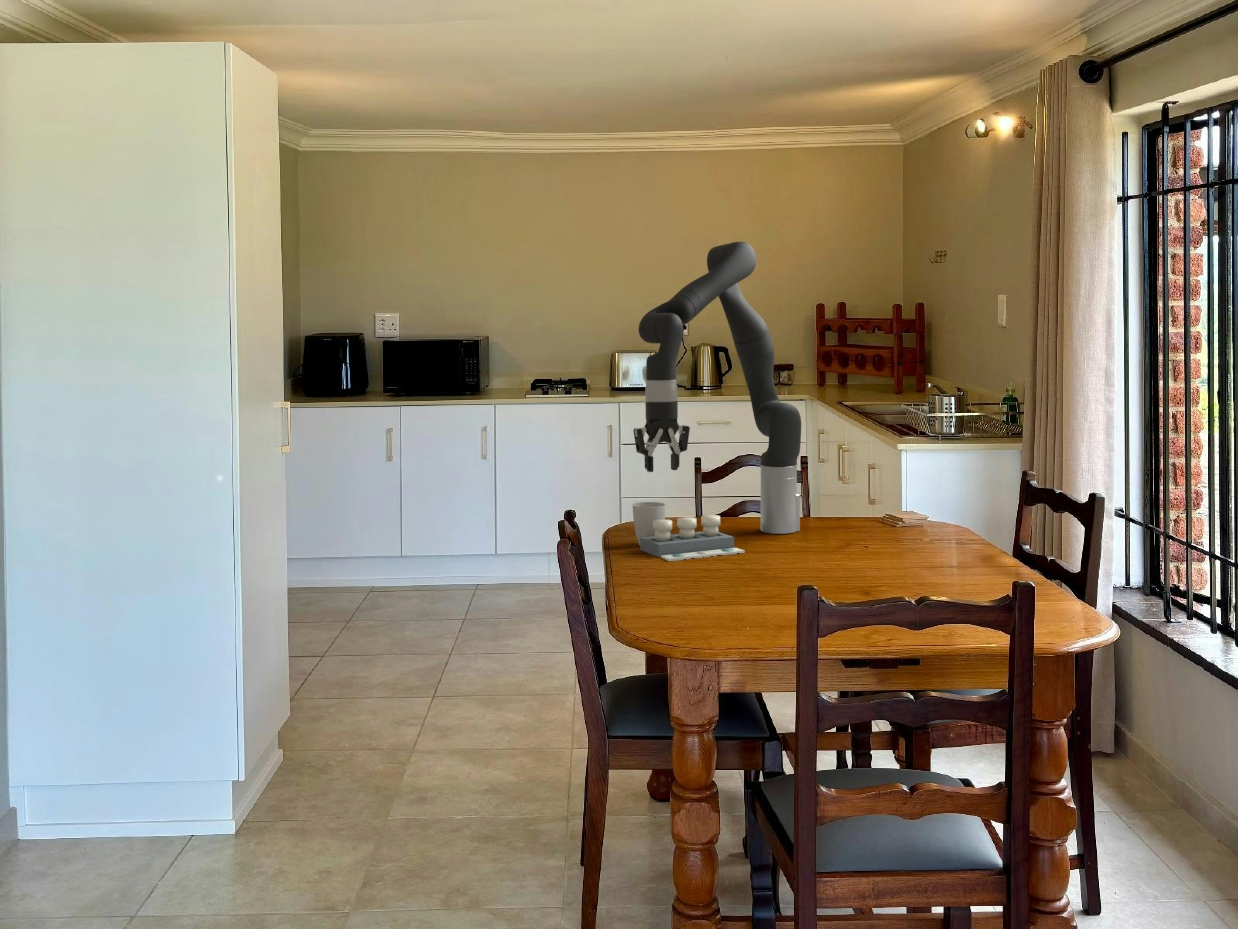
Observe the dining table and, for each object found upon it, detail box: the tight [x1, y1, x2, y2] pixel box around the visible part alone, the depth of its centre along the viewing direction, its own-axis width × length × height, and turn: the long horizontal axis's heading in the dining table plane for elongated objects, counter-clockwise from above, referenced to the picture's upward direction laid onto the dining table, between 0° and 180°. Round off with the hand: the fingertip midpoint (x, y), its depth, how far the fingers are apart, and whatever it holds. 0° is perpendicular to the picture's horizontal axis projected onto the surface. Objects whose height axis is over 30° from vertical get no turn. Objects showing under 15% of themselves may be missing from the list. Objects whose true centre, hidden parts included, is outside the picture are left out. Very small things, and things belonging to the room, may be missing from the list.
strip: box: [660, 547, 746, 562], centre depth 274 cm, size 20×4×1 cm, turn 115°
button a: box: [700, 514, 721, 537], centre depth 284 cm, size 5×5×5 cm
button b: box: [676, 516, 698, 539], centre depth 281 cm, size 5×5×5 cm
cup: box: [632, 501, 667, 546], centre depth 288 cm, size 8×8×10 cm
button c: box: [653, 518, 673, 542], centre depth 278 cm, size 5×5×5 cm
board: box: [639, 530, 735, 558], centre depth 281 cm, size 20×10×3 cm, turn 115°
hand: (662, 470), depth 276 cm, fingers open, 5 cm apart
